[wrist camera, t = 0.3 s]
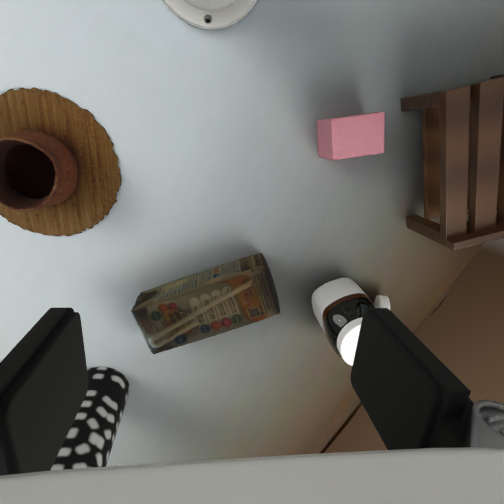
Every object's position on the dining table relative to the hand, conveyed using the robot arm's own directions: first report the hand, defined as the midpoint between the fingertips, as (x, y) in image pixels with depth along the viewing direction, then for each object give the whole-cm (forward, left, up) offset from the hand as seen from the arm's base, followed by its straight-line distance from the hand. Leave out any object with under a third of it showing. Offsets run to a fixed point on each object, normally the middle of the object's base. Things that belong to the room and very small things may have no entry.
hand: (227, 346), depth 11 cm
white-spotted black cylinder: (+33, -18, -36) cm, 52 cm away
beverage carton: (+16, -1, -36) cm, 39 cm away
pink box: (-7, +17, -36) cm, 40 cm away
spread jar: (+18, +21, -36) cm, 45 cm away
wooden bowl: (-1, -21, -36) cm, 42 cm away
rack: (-5, +33, -36) cm, 49 cm away
